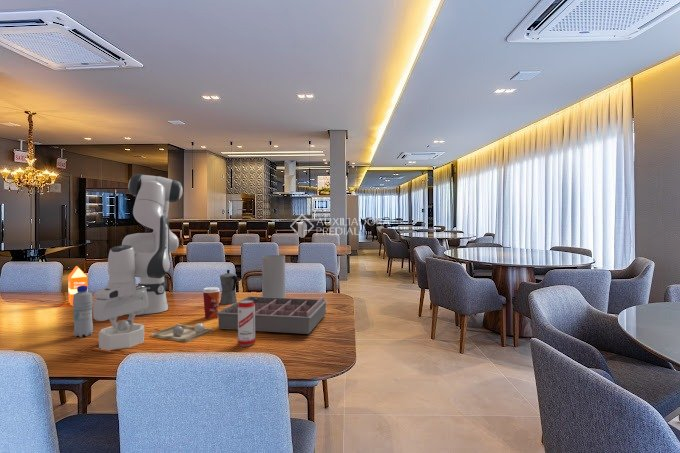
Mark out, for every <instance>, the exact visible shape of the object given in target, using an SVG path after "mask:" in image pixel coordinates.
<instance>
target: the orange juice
mask: <svg viewBox="0 0 680 453" xmlns="http://www.w3.org/2000/svg"><path fill="white" fill-rule="evenodd" d="M67 277H68V278H67V279H68V283H67V284H68V286H67V288H68V303H70V304H69V305H70V306H71V305H72V306H73V303H72V302H73V296H74V294H76V293H78V292H77V287H79V286H82V285H84V286H87V289H88V288H89V287H88V276H87V275H86V273H84V271H83V270H82V269H81V268H80V267H79V266H78V265H76V266H75V267H74V268H73V270H71V272H70V273H69V275H68V276H67ZM87 291H88V292H89V289H88V290H87Z"/></svg>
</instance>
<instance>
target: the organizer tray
mask: <svg viewBox="0 0 680 453" xmlns="http://www.w3.org/2000/svg"><path fill="white" fill-rule="evenodd" d="M242 300H253V303H254V304H255V332H267V333H269V332H270V333H271V332H272V333H283V334H285V333H286V334H287V333H288V334H303V335H309V334H310V333H311V332H312V331H313V330H314V328H315V327H316V326H317V325H318V324H319V323H320V321H322V319H323V318H324V317H325V315H326V314H327V309H326V308H327V307H326V305H327V302H328V299H325V296H324V295H323V296H322V297H321V298H320V299H318V298H317V299H316V298H315V299H314V298H295V297H285V298H274V297H262V296H247V297H245V298H243V299H242ZM238 305H239V301H237V302H236V303H234V304H230V306H227V307H225V308H224V309H221V310H220V311H219V310H218V312H217V313H216V314H218V318H217V319H218V320H217V321H218V324H217V325H218V329H221V330H235V331H238Z"/></svg>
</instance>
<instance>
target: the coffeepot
mask: <svg viewBox="0 0 680 453" xmlns="http://www.w3.org/2000/svg"><path fill="white" fill-rule="evenodd" d="M237 277H238V275H237V274H236V273H231V272H230V269H226V273H222V274H220V275H219V279H220V285H221V286H220V288H221V293H220V294H221V295H220V299H219V304H221V305H233V304H235V303H237V302H238V299H237V295H236V288H237V281H238V278H237Z"/></svg>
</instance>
